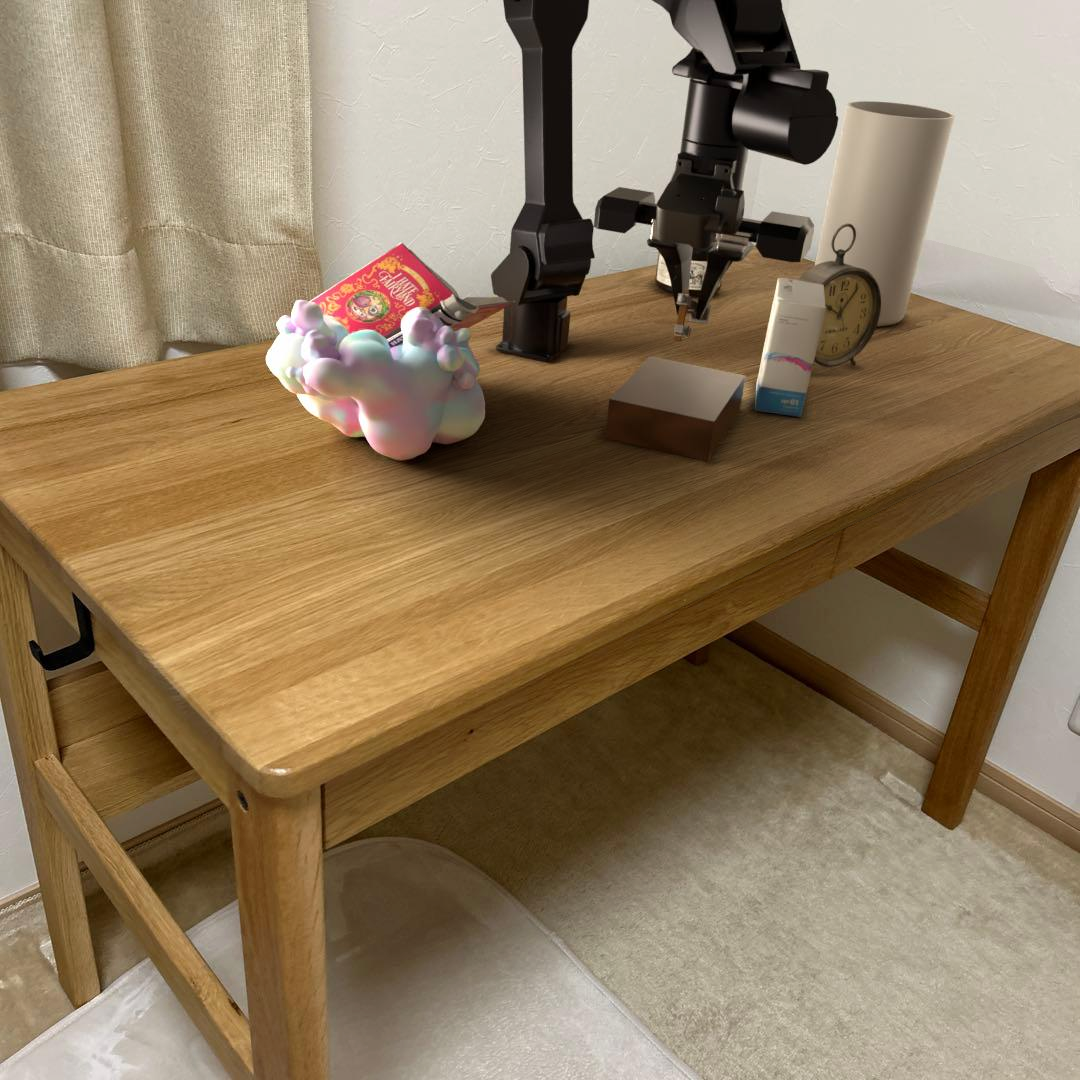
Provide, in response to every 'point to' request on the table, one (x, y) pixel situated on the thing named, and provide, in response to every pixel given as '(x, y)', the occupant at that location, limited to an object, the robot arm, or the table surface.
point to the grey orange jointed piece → (685, 307)
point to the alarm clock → (844, 307)
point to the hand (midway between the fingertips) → (689, 317)
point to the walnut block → (675, 408)
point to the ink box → (790, 347)
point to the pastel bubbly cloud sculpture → (387, 356)
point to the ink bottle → (695, 274)
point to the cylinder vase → (885, 193)
